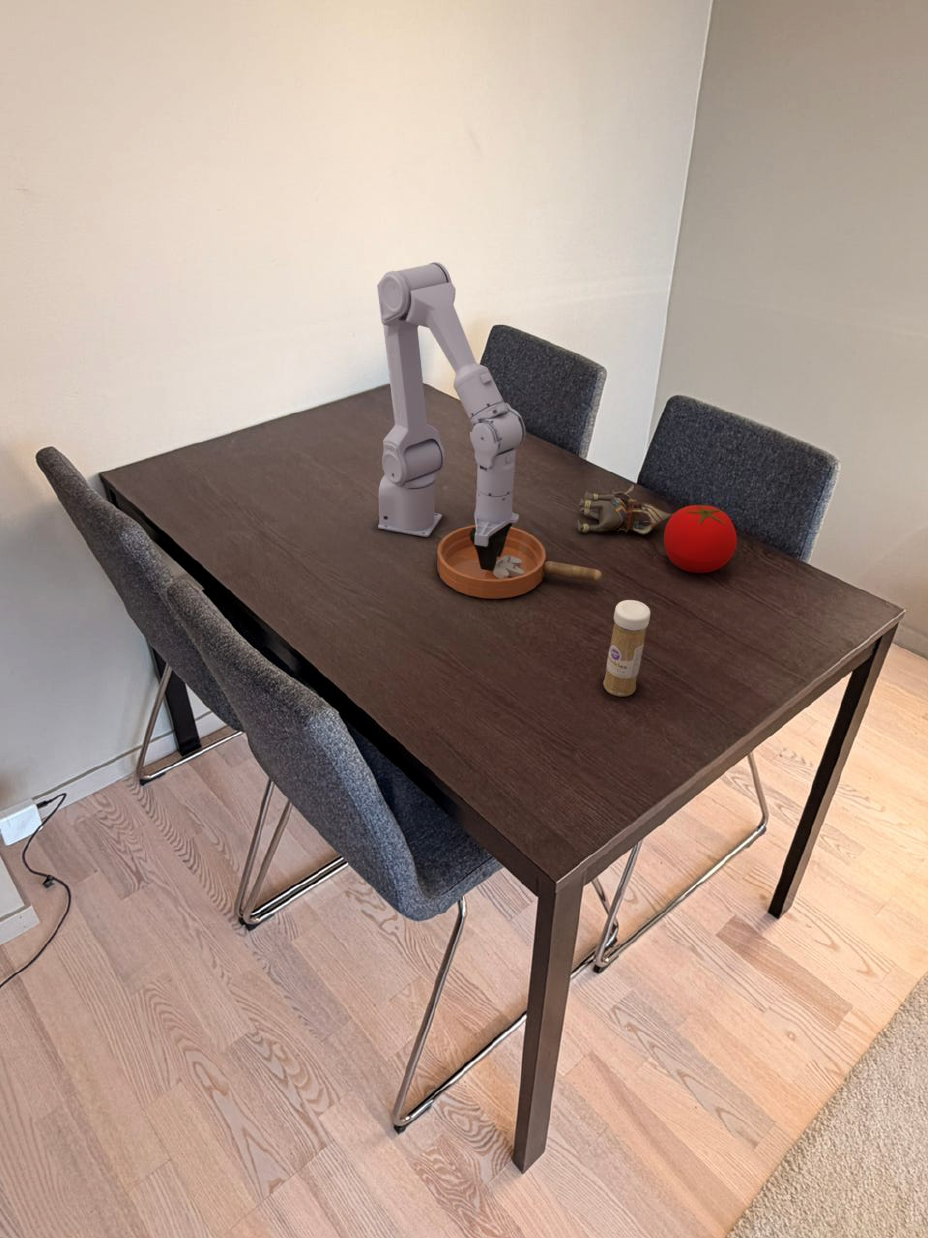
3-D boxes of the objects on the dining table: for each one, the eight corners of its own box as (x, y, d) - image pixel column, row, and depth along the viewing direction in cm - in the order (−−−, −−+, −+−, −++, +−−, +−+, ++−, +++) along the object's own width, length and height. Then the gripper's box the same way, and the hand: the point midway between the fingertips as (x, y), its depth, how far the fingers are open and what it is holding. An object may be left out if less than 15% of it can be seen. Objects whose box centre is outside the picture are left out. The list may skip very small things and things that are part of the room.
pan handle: (541, 574, 140) (542, 563, 139) (544, 568, 142) (545, 557, 141) (600, 585, 138) (601, 574, 137) (602, 578, 140) (603, 568, 139)
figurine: (586, 469, 163) (677, 481, 161) (582, 499, 166) (671, 510, 164) (576, 514, 147) (678, 528, 144) (572, 546, 150) (671, 560, 147)
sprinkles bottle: (596, 688, 120) (608, 609, 113) (614, 672, 123) (627, 594, 115) (625, 703, 118) (639, 623, 110) (642, 686, 121) (657, 607, 113)
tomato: (673, 586, 142) (685, 530, 135) (649, 547, 151) (659, 493, 145) (739, 582, 143) (753, 526, 137) (711, 543, 153) (723, 490, 147)
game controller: (521, 585, 140) (522, 571, 138) (451, 576, 142) (451, 563, 140) (526, 567, 144) (527, 553, 143) (458, 558, 146) (458, 545, 145)
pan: (422, 588, 139) (422, 569, 137) (455, 534, 153) (456, 516, 151) (529, 609, 135) (531, 589, 133) (553, 552, 149) (555, 534, 147)
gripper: (508, 513, 129) (503, 589, 137) (530, 472, 140) (525, 544, 148) (462, 506, 130) (460, 581, 138) (488, 465, 141) (485, 537, 149)
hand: (491, 562), depth 143 cm, fingers open, 4 cm apart
